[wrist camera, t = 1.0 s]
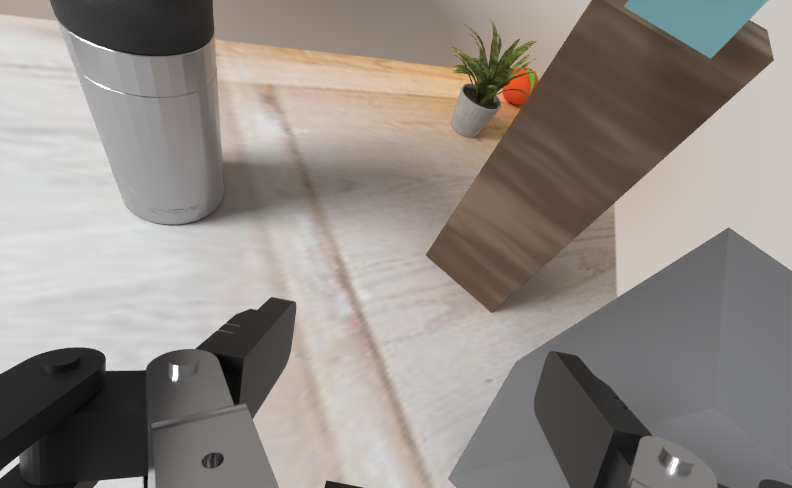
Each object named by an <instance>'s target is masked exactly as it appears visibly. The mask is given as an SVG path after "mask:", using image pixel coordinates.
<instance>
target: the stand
mask: <svg viewBox="0 0 792 488" xmlns="http://www.w3.org/2000/svg"><path fill="white" fill-rule="evenodd" d="M627 2H628V0H592V1H591V2H590V4H589V5H588V7H587V9H586V10H585V12H584V13H583V15H582V16H581V18H580V19H579V21H578V22H577V24H576V25H575V27H574V28H573V30H572V31H571V33H570V35H569V36H568V38H567V39H566V41H565V42H564V44H563V45H562V47H561V48H560V50H559V51H558V53H557V55H556V56H555V58H554V59H553V61H552V62H551V64H550V65H549V67H548V68H547V70H546V71H545V73H544V75H543V76H542V77H541V79H540V81H539V82H538V84H537V85H536V87H535V88H534V90H533V91H532V93H531V94H530V96H529V97H528V99H527V101H526V102H525V104H524V105H523V107H522V108H521V110H520V111H519V113H518V114H517V116H516V117H515V119H514V120H513V122H512V124H511V125H510V127H509V128H508V130H507V131H506V133H505V134H504V136H503V137H502V139H501V140H500V142H499V144H498V145H497V147H496V148H495V150H494V151H493V153H492V154H491V156H490V157H489V159H488V160H487V162H486V163H485V165H484V167H483V168H482V170H481V171H480V173H479V174H478V176H477V177H476V179H475V180H474V182H473V183H472V185H471V186H470V188H469V190H468V191H467V193H466V194H465V196H464V197H463V199H462V200H461V202H460V203H459V205H458V206H457V208H456V210H455V211H454V213H453V214H452V216H451V217H450V219H449V220H448V222H447V223H446V225H445V226H444V228H443V229H442V231H441V233H440V234H439V236H438V237H437V239H436V240H435V242H434V243H433V245H432V246H431V248H430V249H429V251H428V252H427V254H426V256H427V257H428V258H430V259H431V260H432V261H433V262H434V263H435V264H436V265H438V266H439V267H440V268H441V269H442V270H443V271H444V272H446V273H447V274H448V275H449V276H450V277H451V278H453V279H454V280H455V281H456V282H457V283H458V284H459V285H461V286H462V287H463V288H464V289H465V290H466V291H468V292H469V293H470V294H471V295H472V296H473V297H474V298H476V299H477V300H478V301H479V302H480V303H481V304H482V305H484V306H485V307H486V308H487V309H488V310H489V311H491V312H493V311H494V310H495V309H496V308H497V307H498V306H499V305H500V304H502V303H503V302H504V301H505V300H506V299H507V298H508V297H509V296H511V295H512V294H513V293H514V292H515V291H516V290H517V289H518V288H519V287H521V286H522V285H523V284H524V283H525V282H526V281H527V280H528V279H530V278H531V277H532V276H533V275H534V274H535V273H536V272H537V271H538V270H540V269H541V268H542V267H543V266H544V265H545V264H546V263H547V262H549V261H550V260H551V259H552V258H553V257H554V256H555V255H556V254H557V253H559V252H560V251H561V250H562V249H563V248H564V247H565V246H566V245H568V244H569V243H570V242H571V241H572V240H573V239H574V238H575V237H576V236H578V235H579V234H580V233H581V232H582V231H583V230H584V229H585V228H587V227H588V226H589V225H590V224H591V223H592V222H593V221H594V220H596V219H597V218H598V217H599V216H600V215H601V214H602V213H603V212H604V211H606V210H607V209H608V208H609V207H610V206H611V205H612V204H613V203H615V202H616V201H617V200H618V199H619V198H620V197H621V196H622V195H623V194H625V193H626V192H627V191H628V190H629V189H630V188H631V187H632V186H634V185H635V184H636V183H637V182H638V181H639V180H640V179H641V178H642V177H644V176H645V175H646V174H647V173H648V172H649V171H650V170H651V169H653V168H654V167H655V166H656V165H657V164H658V163H659V162H660V161H661V160H663V159H664V158H665V157H666V156H667V155H668V154H669V153H670V152H672V151H673V150H674V149H675V148H676V147H677V146H678V145H679V144H681V143H682V142H683V141H684V140H685V139H686V138H687V137H688V136H689V135H691V134H692V133H693V132H694V131H695V130H696V129H697V128H698V127H700V126H701V125H702V124H703V123H704V122H705V121H706V120H707V119H708V118H710V117H711V116H712V115H713V114H714V113H715V112H716V111H717V110H718V109H719V108H721V107H722V106H723V105H724V104H725V103H726V102H728V101H729V100H730V99H731V98H732V97H733V96H734V95H735V94H736V93H738V92H739V91H740V90H741V89H742V88H743V87H744V86H745V85H746V84H748V83H749V82H750V81H751V80H752V79H753V78H754V77H755V76H757V75H758V74H759V73H760V72H761V71H762V70H763V69H764V68H766V67H767V66H768V65H769V64H770V63H771V62H772V61H773V60H774V59H773V55H772V51H771V46H770V41H769V37H768V33H767V30H766V29H764V28H762V27H761V26H759V25H757V24H755V23H754V22H751V21H750V20H748V21H747V22H746V23H745V24H744V25H743V26H742V28H741V29H740V30H739V31H738V32H737V33H736V34H735V35H734V36H733V37H732V38H731V39H730V40H729V41H728V42H727V43H726V44H725V45H724V46H723V47H722V48H721V49H720V50H719V51H718V52H717V53H716V54H715V55H714V56H713V57H712V58H711V59H710V58H709V57H707V56H705V55H704V54H702V53H700V52H699V51H697V50H695V49H694V48H692V47H690V46H689V45H687V44H685V43H684V42H682V41H680V40H679V39H677V38H675V37H674V36H672V35H670V34H669V33H667V32H665V31H664V30H662V29H660V28H659V27H657V26H655V25H654V24H652V23H650V22H649V21H647V20H645V19H644V18H642V17H640V16H639V15H637V14H635V13H634V12H632V11H630V10H629V9H627V8H625V7H624V6H625V4H626V3H627Z"/></svg>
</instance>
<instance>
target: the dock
mask: <svg viewBox="0 0 792 488" xmlns="http://www.w3.org/2000/svg"><path fill="white" fill-rule="evenodd" d="M550 351H556V352H562V353H567V354H572V355H577V356H578V357H579V358H580V359H581V360H582V361H583V363H584V364H585V365H586V366H587V367H588V368H589V370H590V371H591V372H592V373H593V374H594V375H595V376H596V377H598V378H599V379H600V380H602V381H603V382H605V383H606V384H607V385H609V386H610V387H611V389H612V390H613V391H614V392H615V393H616V394H617V395H618V396H619V399H620V400H622V401H623V402H624V403H625V404H626V406H627V407H628V410H631V411H632V412H633V414H634V415H635V416H636V417H637V418H638V419H639V420H640V421H641V423H642V424H643V425H644V426H645V427H646V428H647V429H648V431H649V432H650V433H651V434H652V435H653V436H655V437H660V438H663V439H666V440H669V441H671V442H674V443H676V444H678V445H680V446H682V447H684V448H685V449H687V450H689V451H690V452H692V453H693V454H695V455H696V456H697V457H699V458H700V459H701V460H702V461H703V462H705V463H706V464H707V465H708V466H709V467H710V469H711V470H712V471H713V472H714V474H715V476H716V479H717V483H719V484H721V485H724V486H726V487H729V488H757V487H758V485H759V483H760V481H761V480H764V479H770V480H776V481H779V482H783V483H786V484H788V485H791V486H792V271H791V270H789V269H788V268H787V267H785V266H784V265H782V264H781V263H779V262H778V261H776V260H775V259H774V258H772V257H771V256H769V255H768V254H766V253H765V252H763V251H762V250H760V249H759V248H758V247H756V246H754V245H753V244H752V243H750V242H749V241H748V240H746V239H745V238H743V237H742V236H740V235H739V234H737V233H736V232H735V231H733V230H732V229H730V228H727V229H726V230H724V231H722V232H721V233H719V234H718V235H716V236H715V237H713V238H712V239H710V240H709V241H707V242H705V243H703V244H702V245H700V246H699V247H697V248H696V249H694V250H692V251H691V252H689V253H688V254H686V255H684V256H683V257H681V258H680V259H678V260H677V261H675V262H673V263H672V264H670V265H669V266H667V267H665V268H664V269H662V270H661V271H659V272H658V273H656V274H654V275H653V276H651V277H650V278H648V279H647V280H645V281H643V282H642V283H640V284H639V285H637V286H635V287H634V288H632V289H631V290H629V291H627V292H626V293H624V294H623V295H621V296H620V297H618V298H616V299H615V300H613V301H612V302H610V303H608V304H607V305H605V306H604V307H602V308H601V309H599V310H597V311H596V312H594V313H593V314H591V315H589V316H588V317H586V318H585V319H583V320H582V321H580V322H578V323H577V324H575V325H574V326H572V327H570V328H569V329H567V330H566V331H564V332H562V333H561V334H559V335H558V336H556V337H555V338H553V339H551V340H550V341H548V342H547V343H545V344H543V345H542V346H540V347H539V348H537V349H536V350H534V351H532V352H531V353H529V354H528V355H526V356H524V357H523V358H521V359H520V360H518V361H517V362H516V363H515V365H514V366H513V368H512V370H511V372H510V373H509V375H508V377H507V378H506V380H505V382H504V384H503V385H502V387H501V389H500V390H499V392H498V394H497V396H496V397H495V399H494V401H493V402H492V404H491V406H490V408H489V409H488V411H487V413H486V415H485V416H484V418H483V420H482V421H481V423H480V425H479V427H478V428H477V430H476V432H475V433H474V435H473V437H472V439H471V440H470V442H469V444H468V446H467V447H466V449H465V451H464V452H463V454H462V456H461V458H460V459H459V461H458V463H457V464H456V466H455V468H454V470H453V471H452V473H451V475H450V476H449V478H448V479H449V480H450V481H451V482H452V483H453V484H454V485H455V486H456V487H457V488H570V486H569V484H568V482H567V480H566V478H565V476H564V474H563V472H562V470H561V468H560V465H559V463H558V461H557V459H556V457H555V455H554V453H553V451H552V449H551V447H550V445H549V443H548V441H547V439H546V436H545V434H544V432H543V430H542V428H541V426H540V424H539V422H538V420H537V418H536V415H535V411H534V397H535V393H536V390H537V386H538V383H539V380H540V376H541V373H542V370H543V366H544V363H545V360H546V357H547V355H548V353H549V352H550Z"/></svg>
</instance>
